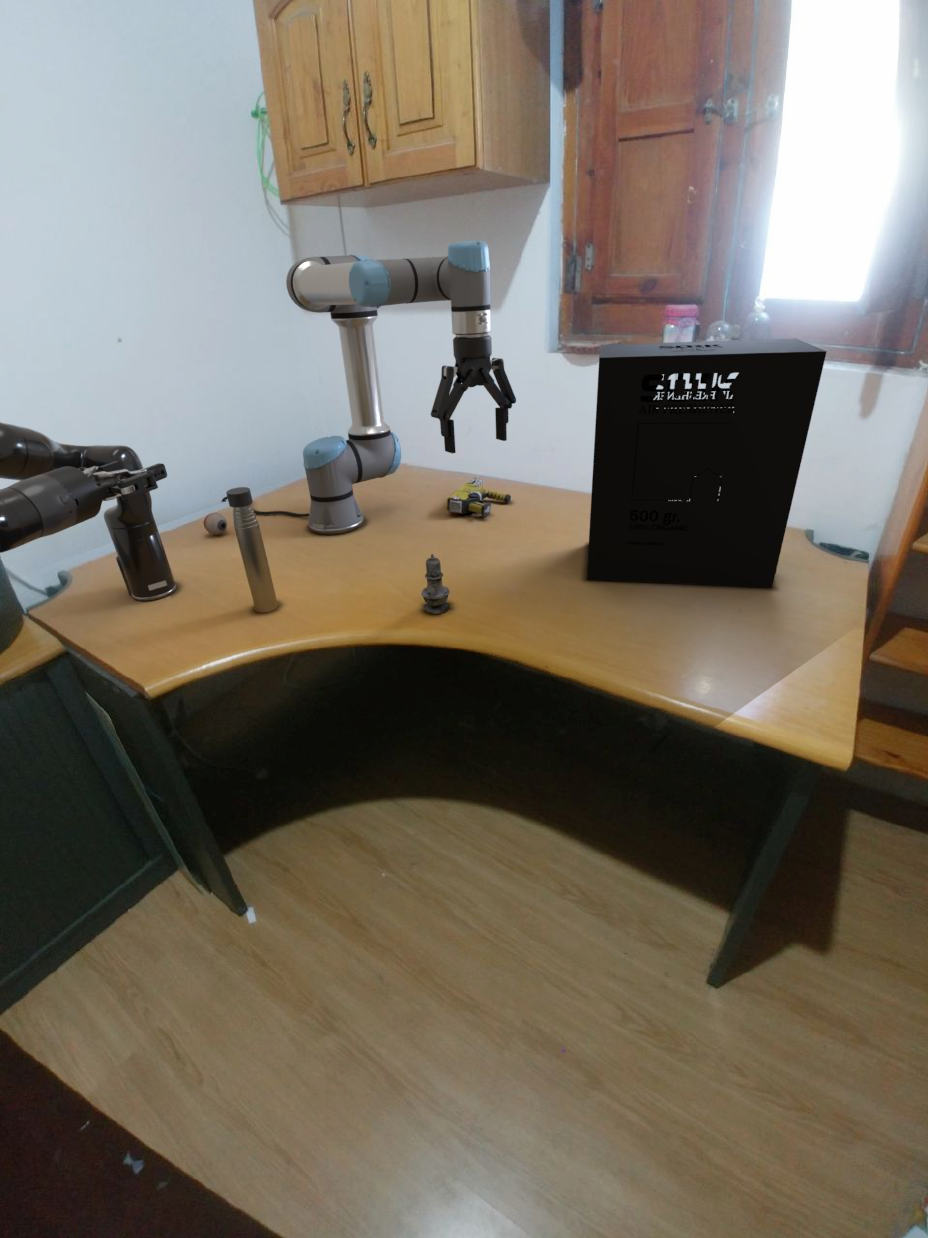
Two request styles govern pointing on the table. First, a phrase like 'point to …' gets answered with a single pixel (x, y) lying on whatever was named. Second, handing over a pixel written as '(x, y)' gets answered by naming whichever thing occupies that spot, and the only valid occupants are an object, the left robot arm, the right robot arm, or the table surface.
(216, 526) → the eyeball
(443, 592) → the grey metal turned piece
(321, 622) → the table surface
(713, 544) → the cardboard box
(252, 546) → the bottle
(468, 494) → the toy gun
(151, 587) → the left robot arm
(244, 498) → the cap
